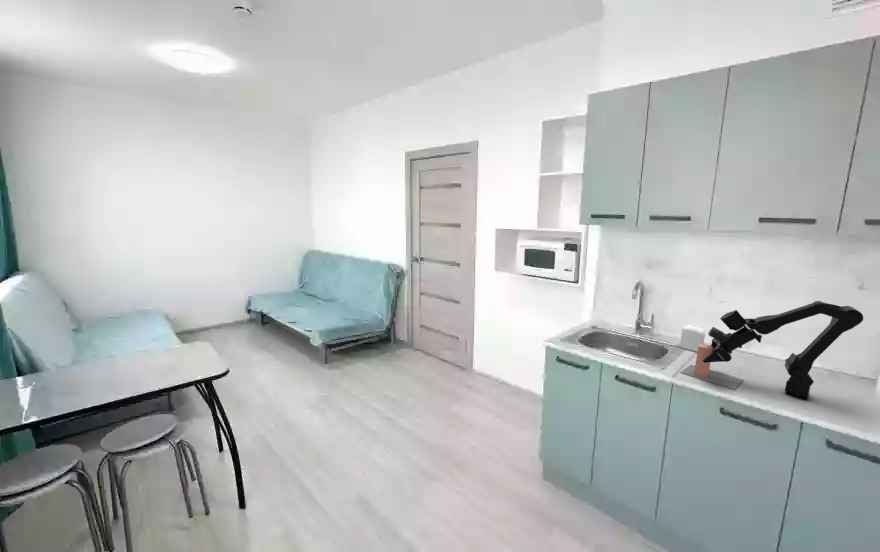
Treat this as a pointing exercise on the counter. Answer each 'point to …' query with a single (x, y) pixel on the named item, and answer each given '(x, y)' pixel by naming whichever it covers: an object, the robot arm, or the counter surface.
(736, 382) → the mat
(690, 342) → the photo printer
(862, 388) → the counter surface
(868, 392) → the counter surface
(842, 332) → the robot arm
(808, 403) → the counter surface
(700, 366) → the card box
